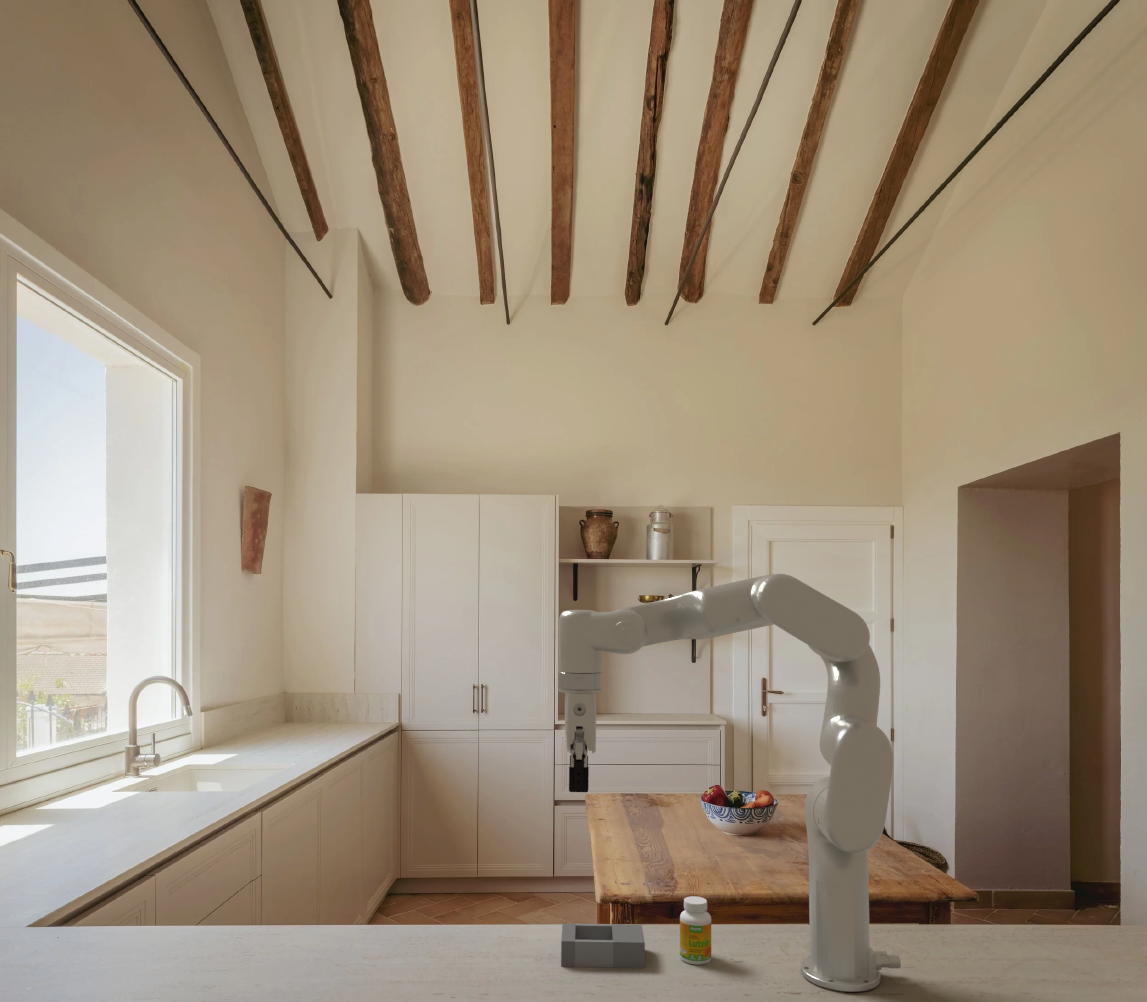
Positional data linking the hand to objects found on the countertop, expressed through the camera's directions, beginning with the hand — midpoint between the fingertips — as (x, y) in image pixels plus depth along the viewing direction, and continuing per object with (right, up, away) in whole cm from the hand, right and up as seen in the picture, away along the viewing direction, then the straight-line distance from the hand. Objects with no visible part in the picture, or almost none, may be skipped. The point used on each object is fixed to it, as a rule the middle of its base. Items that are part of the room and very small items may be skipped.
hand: (578, 785), depth 150 cm
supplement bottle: (+20, -31, +2) cm, 37 cm away
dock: (+4, -30, +2) cm, 31 cm away
